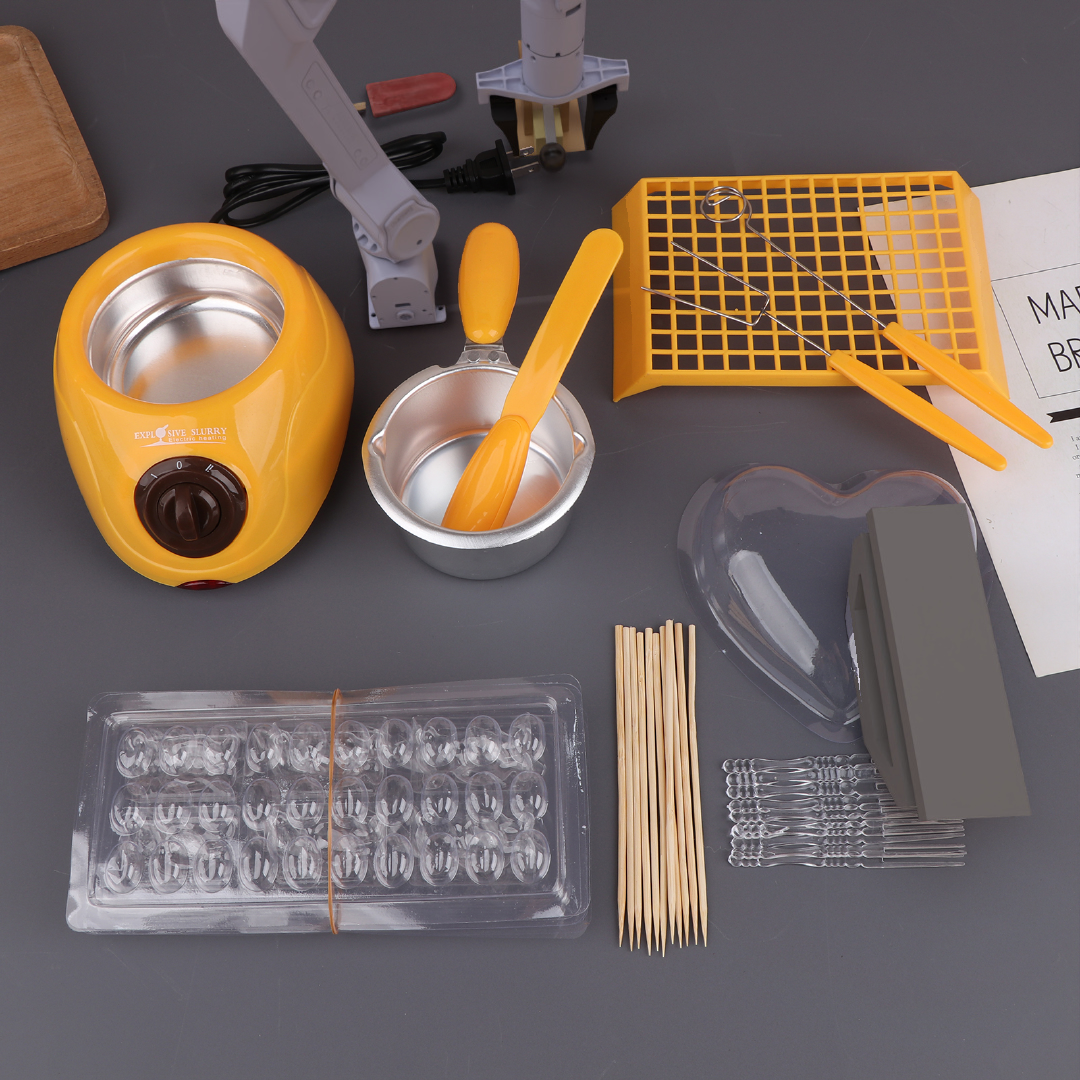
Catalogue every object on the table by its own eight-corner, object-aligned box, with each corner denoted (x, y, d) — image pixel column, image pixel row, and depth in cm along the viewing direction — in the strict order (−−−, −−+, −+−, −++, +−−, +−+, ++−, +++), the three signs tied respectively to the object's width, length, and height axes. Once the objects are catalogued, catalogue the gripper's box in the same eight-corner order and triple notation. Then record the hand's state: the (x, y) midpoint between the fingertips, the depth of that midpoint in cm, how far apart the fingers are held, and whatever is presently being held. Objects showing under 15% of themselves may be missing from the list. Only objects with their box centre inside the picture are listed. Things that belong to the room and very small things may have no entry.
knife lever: (567, 174, 97) (568, 166, 94) (539, 177, 97) (540, 169, 94) (556, 58, 95) (557, 46, 92) (528, 61, 95) (528, 49, 92)
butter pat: (562, 152, 99) (563, 136, 96) (536, 154, 98) (535, 138, 96) (558, 123, 100) (559, 107, 98) (532, 126, 100) (531, 109, 98)
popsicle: (322, 92, 101) (450, 66, 102) (325, 104, 103) (452, 78, 104) (329, 123, 99) (459, 95, 101) (332, 134, 101) (461, 107, 102)
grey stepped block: (833, 548, 85) (871, 507, 74) (915, 544, 85) (965, 503, 74) (876, 823, 77) (927, 820, 66) (967, 818, 77) (1031, 815, 66)
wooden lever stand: (584, 158, 100) (588, 88, 90) (514, 164, 100) (510, 95, 90) (574, 88, 103) (576, 14, 94) (505, 95, 103) (501, 21, 94)
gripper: (626, -7, 82) (615, 109, 95) (469, 7, 81) (479, 121, 94) (637, 52, 79) (624, 162, 92) (475, 66, 79) (485, 175, 92)
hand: (552, 145), depth 93 cm, fingers open, 7 cm apart
